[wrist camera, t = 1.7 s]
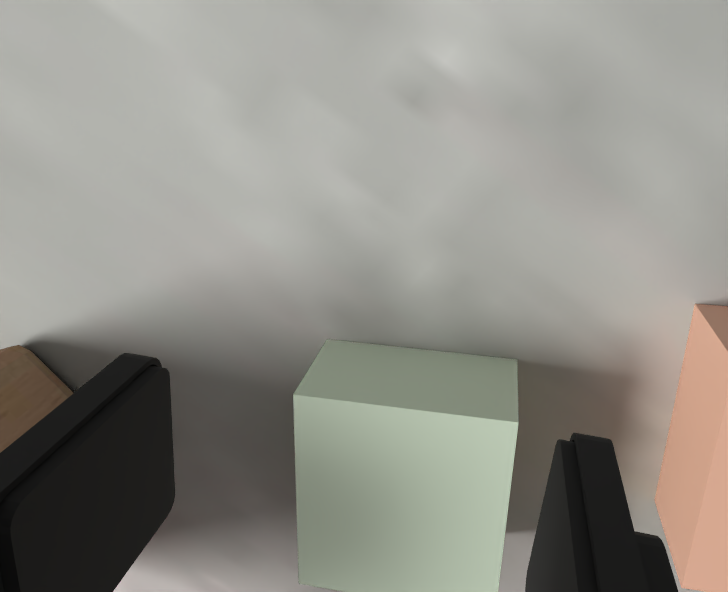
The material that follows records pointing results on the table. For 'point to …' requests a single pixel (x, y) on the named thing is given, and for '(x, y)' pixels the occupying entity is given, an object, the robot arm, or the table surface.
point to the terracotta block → (699, 458)
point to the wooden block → (25, 392)
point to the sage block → (403, 468)
